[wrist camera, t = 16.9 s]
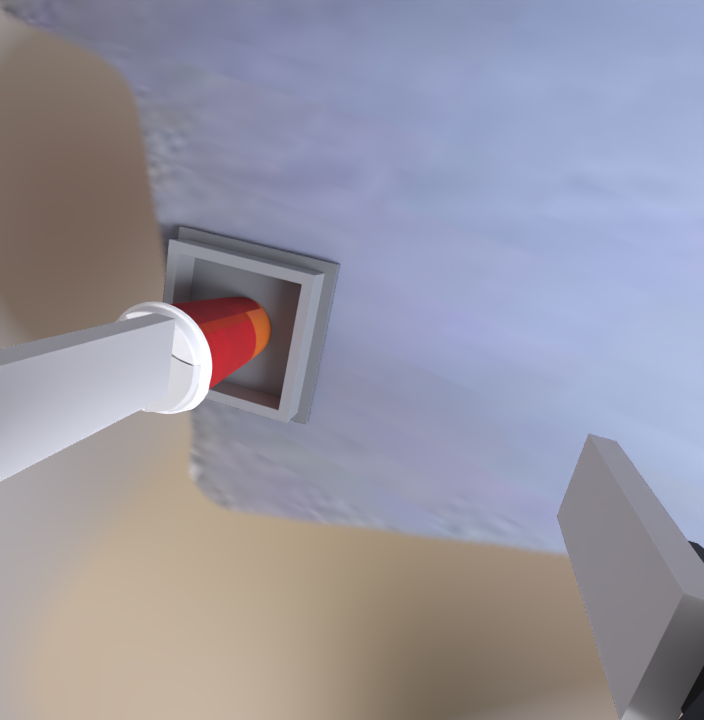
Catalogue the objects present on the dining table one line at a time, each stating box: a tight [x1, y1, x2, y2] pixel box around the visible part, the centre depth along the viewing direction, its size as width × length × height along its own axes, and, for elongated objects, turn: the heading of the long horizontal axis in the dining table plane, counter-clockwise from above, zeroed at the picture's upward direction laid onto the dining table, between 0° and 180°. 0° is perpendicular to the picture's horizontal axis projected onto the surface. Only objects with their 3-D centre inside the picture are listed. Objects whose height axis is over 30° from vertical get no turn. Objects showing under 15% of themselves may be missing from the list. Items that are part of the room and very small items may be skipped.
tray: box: [163, 226, 340, 424], centre depth 47 cm, size 16×16×4 cm
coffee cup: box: [116, 297, 271, 414], centre depth 41 cm, size 8×8×15 cm
